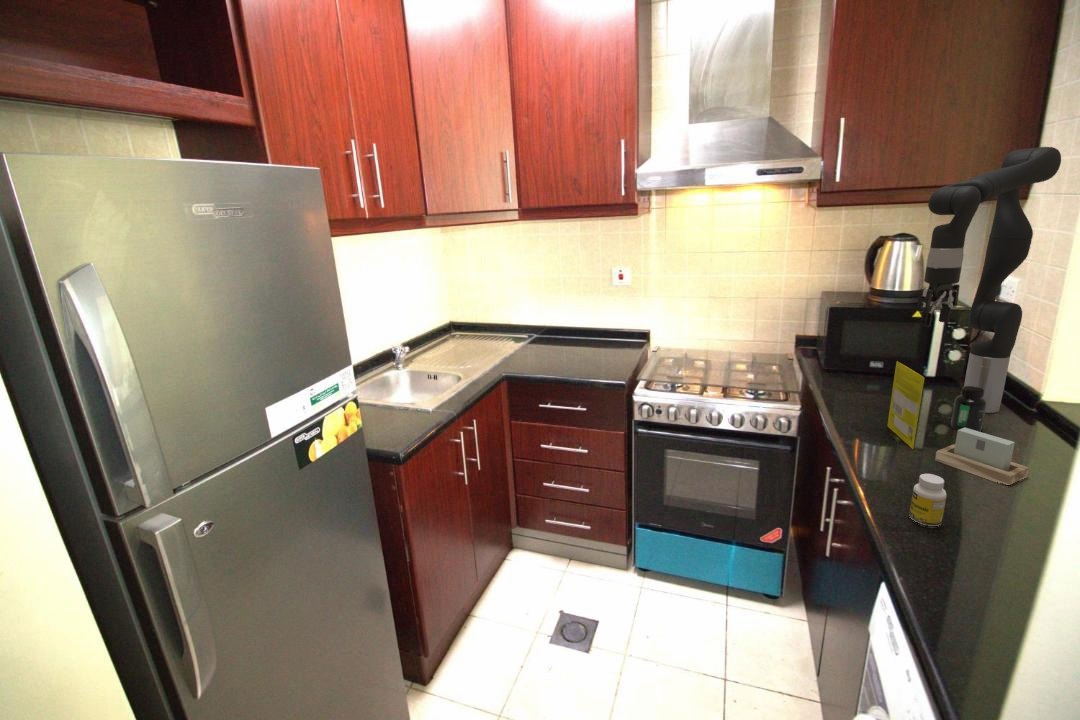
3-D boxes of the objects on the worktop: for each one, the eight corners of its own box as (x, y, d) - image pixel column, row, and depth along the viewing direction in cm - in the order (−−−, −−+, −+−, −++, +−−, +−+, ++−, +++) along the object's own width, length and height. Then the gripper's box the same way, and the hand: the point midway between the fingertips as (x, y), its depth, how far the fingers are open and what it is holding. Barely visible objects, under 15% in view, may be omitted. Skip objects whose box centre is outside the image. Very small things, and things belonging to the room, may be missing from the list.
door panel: (959, 456, 128) (965, 427, 126) (1008, 473, 120) (1015, 442, 117) (952, 459, 127) (957, 430, 125) (1001, 476, 118) (1007, 445, 116)
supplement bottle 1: (902, 514, 107) (908, 472, 105) (926, 512, 108) (933, 470, 105) (923, 529, 102) (930, 486, 100) (948, 527, 103) (956, 483, 100)
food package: (915, 449, 134) (926, 377, 129) (910, 449, 135) (921, 377, 129) (889, 426, 149) (898, 360, 143) (885, 426, 149) (894, 360, 144)
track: (953, 452, 132) (954, 443, 131) (1026, 477, 119) (1028, 467, 118) (935, 460, 128) (936, 451, 128) (1008, 486, 115) (1010, 476, 115)
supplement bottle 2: (962, 433, 142) (970, 393, 138) (944, 424, 148) (951, 385, 145) (987, 432, 142) (996, 392, 138) (968, 423, 148) (975, 384, 145)
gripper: (943, 261, 142) (934, 318, 147) (912, 266, 137) (904, 325, 141) (975, 263, 136) (964, 323, 140) (944, 268, 130) (934, 330, 134)
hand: (934, 324), depth 141 cm, fingers open, 8 cm apart
